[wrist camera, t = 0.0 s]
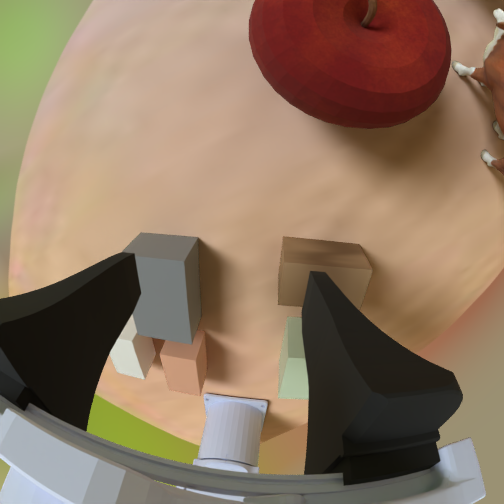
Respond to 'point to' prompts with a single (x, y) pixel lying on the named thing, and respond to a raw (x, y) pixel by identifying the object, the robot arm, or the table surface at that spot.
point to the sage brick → (293, 363)
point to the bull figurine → (492, 81)
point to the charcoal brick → (167, 286)
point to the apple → (353, 57)
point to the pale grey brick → (133, 352)
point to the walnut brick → (322, 269)
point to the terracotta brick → (185, 364)
